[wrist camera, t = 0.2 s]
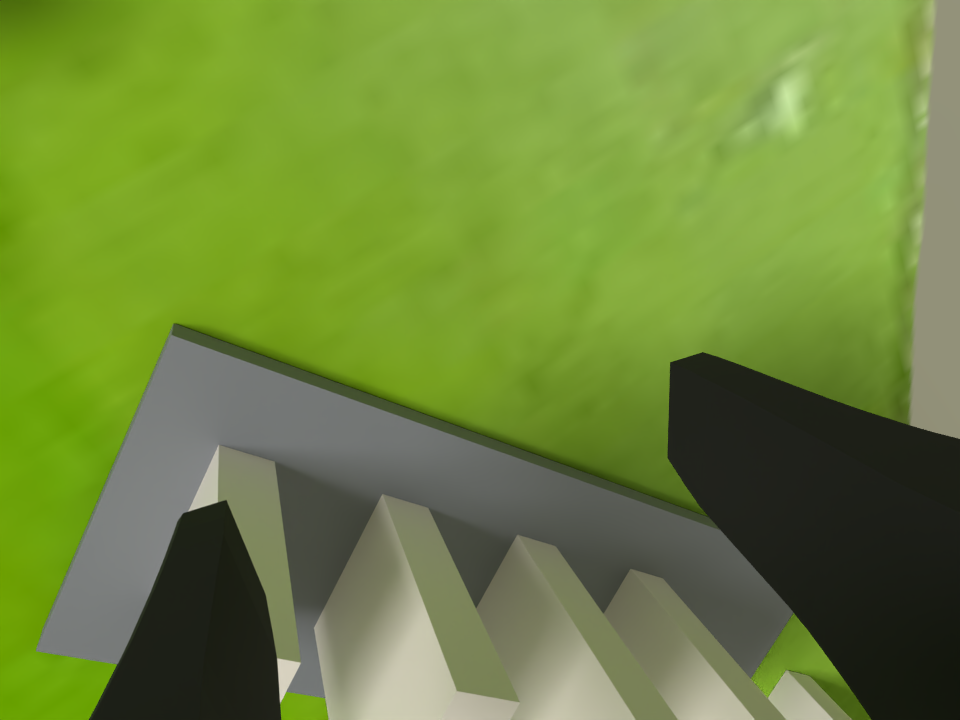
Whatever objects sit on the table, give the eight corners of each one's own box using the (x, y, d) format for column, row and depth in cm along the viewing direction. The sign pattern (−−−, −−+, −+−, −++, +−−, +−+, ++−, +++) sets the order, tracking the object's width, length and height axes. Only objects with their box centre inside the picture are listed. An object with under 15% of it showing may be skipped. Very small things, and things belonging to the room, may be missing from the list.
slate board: (685, 739, 32) (698, 758, 31) (43, 626, 21) (36, 650, 20) (806, 552, 31) (823, 566, 30) (173, 323, 20) (171, 335, 19)
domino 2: (360, 637, 24) (418, 877, 17) (314, 627, 23) (353, 873, 16) (428, 507, 23) (520, 702, 16) (382, 493, 22) (457, 691, 15)
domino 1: (206, 605, 22) (197, 865, 14) (150, 594, 21) (112, 860, 14) (274, 461, 21) (300, 662, 14) (218, 444, 20) (215, 646, 13)
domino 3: (488, 663, 26) (589, 885, 19) (449, 655, 25) (538, 883, 18) (555, 546, 25) (687, 732, 18) (517, 534, 24) (638, 724, 17)
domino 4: (597, 686, 28) (724, 893, 21) (564, 678, 27) (684, 891, 20) (662, 578, 27) (818, 756, 20) (630, 568, 26) (779, 749, 19)
